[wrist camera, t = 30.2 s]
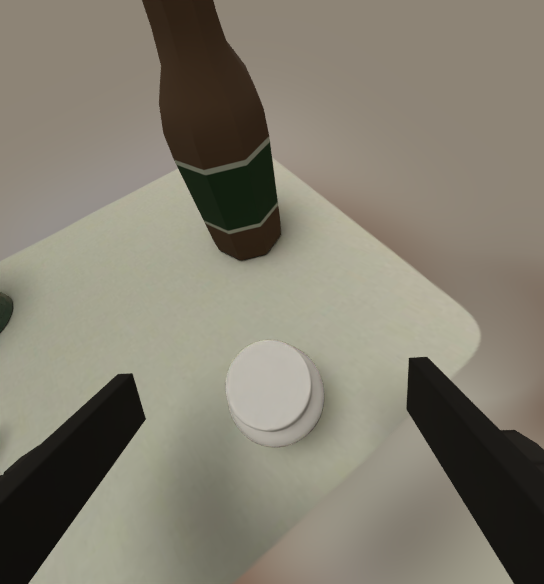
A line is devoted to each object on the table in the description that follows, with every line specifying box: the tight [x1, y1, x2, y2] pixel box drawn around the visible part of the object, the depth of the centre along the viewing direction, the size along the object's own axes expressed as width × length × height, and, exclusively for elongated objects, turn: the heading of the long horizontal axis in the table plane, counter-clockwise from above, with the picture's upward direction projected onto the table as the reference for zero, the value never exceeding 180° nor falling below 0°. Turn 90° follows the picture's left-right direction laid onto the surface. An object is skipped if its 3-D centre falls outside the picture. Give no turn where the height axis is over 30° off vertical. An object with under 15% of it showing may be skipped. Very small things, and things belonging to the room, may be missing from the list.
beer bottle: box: [142, 0, 281, 260], centre depth 18 cm, size 8×8×24 cm
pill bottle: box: [225, 340, 324, 447], centre depth 16 cm, size 5×5×10 cm
